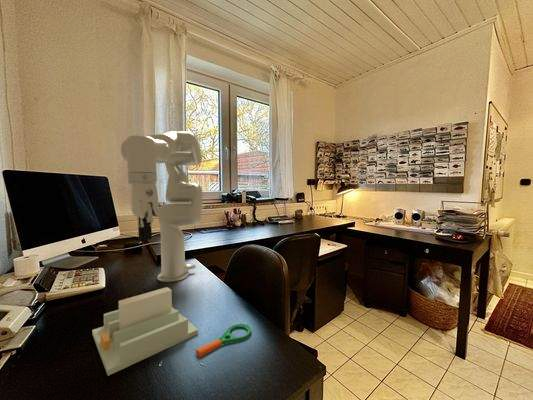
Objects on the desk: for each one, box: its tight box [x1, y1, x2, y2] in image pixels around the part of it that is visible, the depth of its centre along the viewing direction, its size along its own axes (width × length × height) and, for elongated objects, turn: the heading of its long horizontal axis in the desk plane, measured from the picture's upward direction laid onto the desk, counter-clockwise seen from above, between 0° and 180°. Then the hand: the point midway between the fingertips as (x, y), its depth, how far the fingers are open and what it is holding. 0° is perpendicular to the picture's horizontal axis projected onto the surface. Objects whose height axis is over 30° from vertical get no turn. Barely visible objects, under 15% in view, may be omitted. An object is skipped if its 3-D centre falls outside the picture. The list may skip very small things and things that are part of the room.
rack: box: [91, 306, 199, 377], centre depth 61 cm, size 20×19×5 cm
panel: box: [118, 286, 173, 330], centre depth 62 cm, size 12×3×9 cm, turn 134°
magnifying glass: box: [195, 323, 252, 358], centre depth 59 cm, size 15×6×2 cm, turn 135°
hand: (145, 239), depth 71 cm, fingers closed
